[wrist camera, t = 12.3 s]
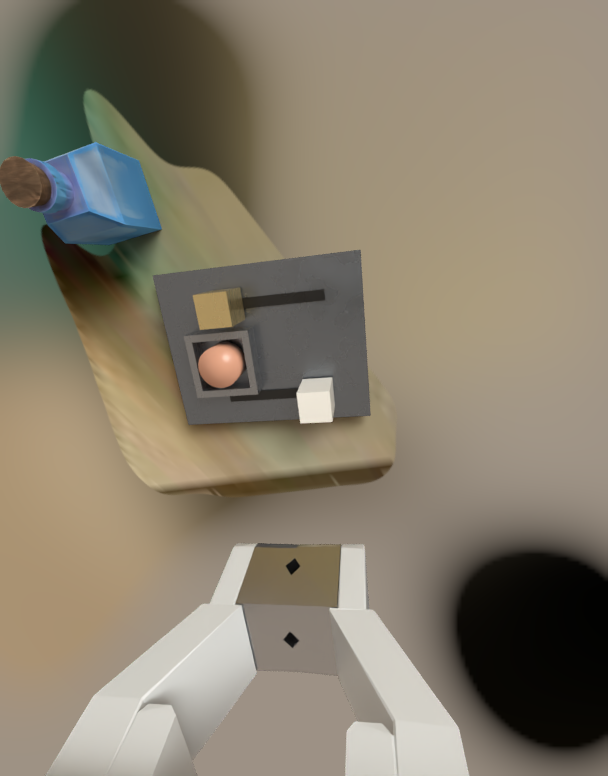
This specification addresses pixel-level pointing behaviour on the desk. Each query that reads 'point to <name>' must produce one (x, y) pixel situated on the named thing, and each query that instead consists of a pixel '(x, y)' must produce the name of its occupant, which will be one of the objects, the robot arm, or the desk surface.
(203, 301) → the brass slider
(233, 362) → the push button
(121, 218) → the perfume bottle
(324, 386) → the ivory slider
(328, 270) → the console
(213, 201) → the desk surface
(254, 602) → the robot arm
